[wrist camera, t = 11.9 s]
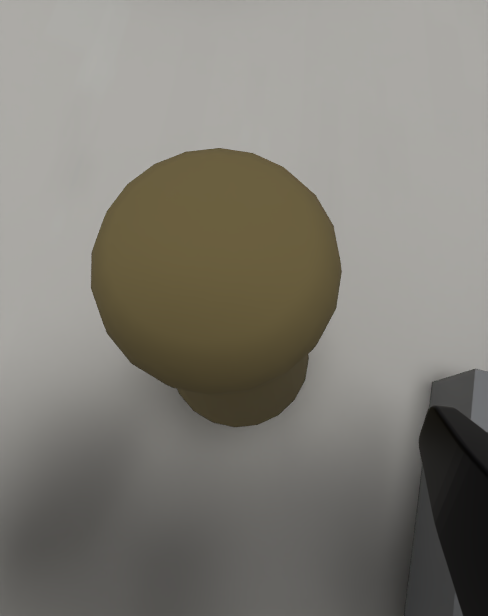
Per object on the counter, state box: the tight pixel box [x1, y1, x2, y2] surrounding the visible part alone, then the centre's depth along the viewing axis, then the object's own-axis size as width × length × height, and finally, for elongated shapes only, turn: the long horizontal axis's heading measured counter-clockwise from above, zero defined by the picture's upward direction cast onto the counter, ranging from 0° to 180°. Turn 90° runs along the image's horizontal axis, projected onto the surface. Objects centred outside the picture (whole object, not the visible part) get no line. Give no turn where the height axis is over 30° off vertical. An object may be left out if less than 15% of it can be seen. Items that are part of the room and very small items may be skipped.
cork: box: [91, 148, 342, 427], centre depth 12 cm, size 6×6×11 cm
